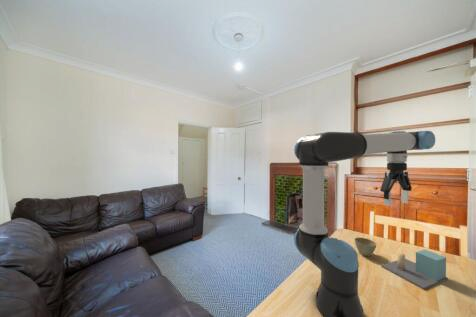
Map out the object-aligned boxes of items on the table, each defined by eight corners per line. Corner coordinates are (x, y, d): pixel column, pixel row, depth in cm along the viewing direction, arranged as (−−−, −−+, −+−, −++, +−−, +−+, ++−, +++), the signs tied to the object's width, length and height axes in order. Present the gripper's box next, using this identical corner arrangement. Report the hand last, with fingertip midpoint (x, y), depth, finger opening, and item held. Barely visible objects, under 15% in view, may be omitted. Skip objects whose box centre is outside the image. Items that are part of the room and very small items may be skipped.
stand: (423, 289, 74) (424, 269, 74) (381, 266, 89) (381, 250, 89) (447, 279, 80) (448, 260, 80) (404, 259, 95) (404, 244, 95)
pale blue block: (436, 281, 78) (437, 260, 78) (415, 270, 84) (415, 252, 84) (445, 277, 80) (446, 257, 80) (424, 267, 87) (424, 249, 87)
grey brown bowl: (376, 261, 94) (376, 247, 94) (353, 254, 100) (353, 242, 100) (376, 252, 102) (376, 240, 101) (355, 247, 108) (355, 235, 107)
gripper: (388, 163, 82) (388, 208, 83) (421, 162, 91) (420, 203, 91) (371, 162, 89) (371, 204, 90) (403, 161, 98) (402, 200, 98)
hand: (396, 204), depth 90 cm, fingers open, 13 cm apart
